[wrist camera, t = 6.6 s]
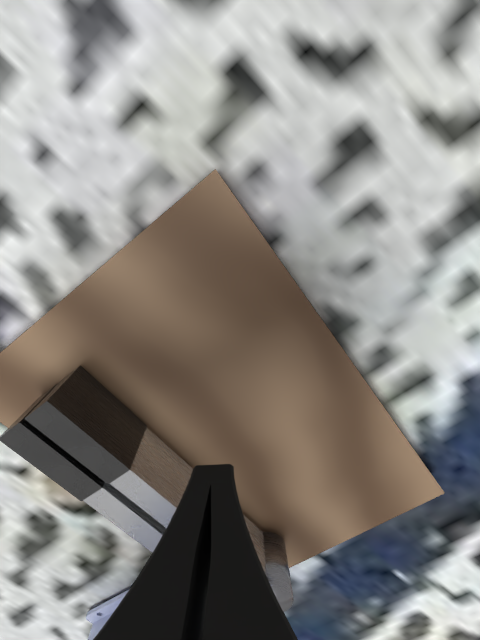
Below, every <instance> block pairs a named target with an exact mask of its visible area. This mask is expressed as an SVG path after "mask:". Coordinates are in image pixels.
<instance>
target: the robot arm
mask: <svg viewBox="0 0 480 640" xmlns="http://www.w3.org/2000/svg"><path fill="white" fill-rule="evenodd" d="M86 619H87V620H88V621H89V622H91V623H93V625H92V628H91V631H90V634H89V637H88V640H298V639H297V637H296V635H295V633H294V632H293V630H292V628H291V626H290V624H289V622H288V620H287V618H286V616H285V614H284V612H283V610H282V608H281V606H280V604H279V602H278V600H277V598H276V596H275V594H274V592H273V590H272V587H271V585H270V583H269V581H268V579H267V576H266V574H265V572H264V570H263V567H262V565H261V562H260V560H259V558H258V555H257V553H256V550H255V547H254V545H253V542H252V539H251V537H250V534H249V531H248V528H247V525H246V522H245V519H244V516H243V512H242V509H241V506H240V502H239V498H238V494H237V490H236V485H235V479H234V466H232V465H231V464H217V465H196V466H195V467H194V468H193V471H192V474H191V477H190V479H189V482H188V484H187V487H186V489H185V492H184V494H183V496H182V498H181V500H180V503H179V505H178V507H177V509H176V511H175V513H174V515H173V517H172V519H171V521H170V523H169V525H168V526H167V528H166V530H165V532H164V534H163V535H162V537H161V539H160V541H159V543H158V544H157V546H156V548H155V550H154V551H153V553H152V555H151V556H150V558H149V560H148V561H147V563H146V565H145V566H144V568H143V569H142V571H141V573H140V574H139V576H138V577H137V579H136V580H135V582H134V583H133V585H132V586H131V588H130V589H129V590H127V591H125V592H123V593H122V594H120V595H118V596H116V597H114V598H112V599H110V600H108V601H107V602H105V603H103V604H101V605H99V606H97V607H95V608H93V609H92V610H90V611H88V613H87V615H86Z"/></svg>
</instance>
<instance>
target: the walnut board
mask: <svg viewBox="0 0 480 640" xmlns="http://www.w3.org/2000/svg"><path fill="white" fill-rule="evenodd" d="M80 365H81V366H82V367H83V368H84V369H85V370H86V371H88V372H89V373H90V374H91V375H92V376H93V377H94V378H95V379H96V380H97V381H99V382H100V383H101V384H102V385H103V386H104V387H105V388H106V389H107V390H108V391H110V392H111V393H112V394H113V395H114V396H115V397H116V398H117V399H118V400H119V401H121V402H122V403H123V404H124V405H125V406H126V407H127V408H128V409H129V410H131V411H132V412H133V413H134V414H135V415H136V416H137V417H138V418H139V419H140V420H142V421H143V422H144V423H145V424H146V425H147V428H148V429H149V430H151V431H152V432H153V433H154V434H155V435H156V436H157V437H158V438H159V439H161V440H162V441H163V442H164V443H165V444H166V445H167V446H168V447H169V448H170V449H172V450H173V451H174V452H175V453H176V454H177V455H178V456H179V457H180V458H182V459H183V460H184V461H185V462H186V463H187V464H188V465H189V466H190V467H192V468H194V467H195V466H196V465H217V464H231V465H232V466H234V479H235V485H236V490H237V494H238V498H239V502H240V506H241V509H242V512H243V515H245V516H246V517H247V518H248V519H249V520H250V521H251V522H252V523H253V524H255V525H256V526H257V527H258V528H259V529H260V530H261V531H262V532H271V533H275V534H278V535H279V536H281V537H282V538H283V539H284V541H285V545H286V552H287V559H288V566H289V568H290V567H292V566H294V565H296V564H298V563H300V562H303V561H305V560H307V559H309V558H311V557H313V556H315V555H317V554H319V553H321V552H323V551H325V550H327V549H330V548H332V547H334V546H336V545H338V544H340V543H342V542H344V541H346V540H348V539H350V538H352V537H355V536H357V535H359V534H361V533H363V532H365V531H367V530H369V529H371V528H373V527H375V526H377V525H379V524H382V523H384V522H386V521H388V520H390V519H392V518H394V517H396V516H398V515H400V514H402V513H404V512H407V511H409V510H411V509H413V508H415V507H417V506H419V505H421V504H423V503H425V502H427V501H429V500H431V499H434V498H436V497H438V496H440V495H442V494H444V491H443V490H442V489H441V487H440V486H439V484H438V483H437V482H436V480H435V479H434V477H433V476H432V475H431V473H430V472H429V470H428V469H427V467H426V466H425V465H424V463H423V462H422V460H421V459H420V458H419V456H418V455H417V453H416V452H415V450H414V449H413V448H412V446H411V445H410V443H409V442H408V441H407V439H406V438H405V436H404V435H403V433H402V432H401V431H400V429H399V428H398V426H397V425H396V424H395V422H394V421H393V419H392V418H391V417H390V415H389V414H388V412H387V411H386V409H385V408H384V407H383V405H382V404H381V402H380V401H379V400H378V398H377V397H376V395H375V394H374V392H373V391H372V390H371V388H370V387H369V385H368V384H367V383H366V381H365V380H364V378H363V377H362V376H361V374H360V373H359V371H358V370H357V368H356V367H355V366H354V364H353V363H352V361H351V360H350V359H349V357H348V356H347V354H346V353H345V351H344V350H343V349H342V347H341V346H340V344H339V343H338V342H337V340H336V339H335V337H334V336H333V335H332V333H331V332H330V330H329V329H328V327H327V326H326V325H325V323H324V322H323V320H322V319H321V318H320V316H319V315H318V313H317V312H316V310H315V309H314V308H313V306H312V305H311V303H310V302H309V301H308V299H307V298H306V296H305V295H304V293H303V292H302V291H301V289H300V288H299V286H298V285H297V284H296V282H295V281H294V279H293V278H292V277H291V275H290V274H289V272H288V271H287V269H286V268H285V267H284V265H283V264H282V262H281V261H280V260H279V258H278V257H277V255H276V254H275V252H274V251H273V250H272V248H271V247H270V245H269V244H268V243H267V241H266V240H265V238H264V237H263V236H262V234H261V233H260V231H259V230H258V228H257V227H256V226H255V224H254V223H253V221H252V220H251V219H250V217H249V216H248V214H247V213H246V211H245V210H244V209H243V207H242V206H241V204H240V203H239V202H238V200H237V199H236V197H235V196H234V195H233V193H232V192H231V190H230V189H229V187H228V186H227V185H226V183H225V182H224V180H223V179H222V178H221V176H220V175H219V173H218V172H217V170H216V169H215V170H214V171H213V172H212V173H210V174H209V175H208V176H207V177H206V178H205V179H203V180H202V181H201V182H200V183H199V184H198V185H196V186H195V187H194V188H193V189H192V190H190V191H189V192H188V193H187V194H186V195H185V196H183V197H182V198H181V199H180V200H179V201H178V202H176V203H175V204H174V205H173V206H172V207H171V208H169V209H168V210H167V211H166V212H165V213H164V214H162V215H161V216H160V217H159V218H158V219H157V220H155V221H154V222H153V223H152V224H151V225H150V226H148V227H147V228H146V229H145V230H144V231H142V232H141V233H140V234H139V235H138V236H137V237H135V238H134V239H133V240H132V241H131V242H130V243H128V244H127V245H126V246H125V247H124V248H123V249H121V250H120V251H119V252H118V253H117V254H116V255H114V256H113V257H112V258H111V259H110V260H109V261H107V262H106V263H105V264H104V265H103V266H102V267H100V268H99V269H98V270H97V271H96V272H94V273H93V274H92V275H91V276H90V277H89V278H87V279H86V280H85V281H84V282H83V283H82V284H80V285H79V286H78V287H77V288H76V289H75V290H73V291H72V292H71V293H70V294H69V295H68V296H66V297H65V298H64V299H63V300H62V301H61V302H59V303H58V304H57V305H56V306H55V307H53V308H52V309H51V310H50V311H49V312H48V313H46V314H45V315H44V316H43V317H42V318H41V319H39V320H38V321H37V322H36V323H35V324H34V325H32V326H31V327H30V328H29V329H28V330H27V331H25V332H24V333H23V334H22V335H21V336H20V337H18V338H17V339H16V340H15V341H14V342H13V343H11V344H10V345H9V346H8V347H7V348H5V349H4V350H3V351H2V352H1V353H0V422H1V423H2V424H4V425H5V426H6V427H8V428H9V427H10V426H11V425H12V424H13V423H14V422H15V421H16V420H17V419H18V418H19V417H20V416H21V415H22V414H23V413H24V412H25V411H26V410H27V409H28V408H29V407H30V406H31V405H32V404H33V403H34V402H35V401H36V400H37V399H38V398H39V397H40V396H41V395H43V394H44V393H45V392H47V391H48V390H49V389H50V388H52V387H53V386H54V385H56V384H58V383H59V382H60V381H61V380H62V379H64V378H65V377H66V376H67V375H69V374H70V373H71V372H72V371H74V370H75V369H76V368H77V367H79V366H80Z"/></svg>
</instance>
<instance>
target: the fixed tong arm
mask: <svg viewBox="0 0 480 640" xmlns="http://www.w3.org/2000/svg"><path fill="white" fill-rule="evenodd" d="M56 385H57V384H56ZM56 385H54V386H53V387H52V388H50V389H49V390H48V391H47V392H45V393H44V394H43V395H41V396H40V397H39V398H38V399H37V400H36V401H35V402H34V403H33V404H32V405H31V406H30V407H29V408H28V409H27V410H26V411H25V412H24V413H23V414H22V415H21V416H20V417H19V418H18V419H17V420H16V421H15V422H14V423H13V424H12V425H11V426H10V427H9V428H8V429H7V430H6V431H5V432H4V433H3V434H2V435H1V436H0V441H1V442H3V443H4V444H5V445H7V446H8V447H9V448H11V449H12V450H13V451H15V452H16V453H17V454H19V455H20V456H21V457H23V458H24V459H25V460H27V461H28V462H29V463H31V464H32V465H33V466H35V467H36V468H37V469H39V470H40V471H41V472H43V473H44V474H45V475H47V476H48V477H49V478H51V479H52V480H53V481H55V482H56V483H57V484H59V485H60V486H61V487H63V488H64V489H65V490H67V491H68V492H69V493H71V494H72V495H73V496H75V497H76V498H77V499H79V500H80V501H84V502H86V503H87V504H88V505H90V506H91V507H92V508H94V509H95V510H96V511H98V512H99V513H100V514H102V515H103V516H104V517H106V518H107V519H108V520H110V521H111V522H112V523H114V524H115V525H116V526H118V527H119V528H120V529H122V530H123V531H124V532H126V533H127V534H128V535H130V536H131V537H132V538H134V539H135V540H136V541H138V542H139V543H140V544H142V545H143V546H144V547H146V548H147V549H148V550H149V551H151V552H152V553H153V551H154V550H155V548H156V546H157V544H158V543H159V541H160V539H161V537H162V535H163V534H164V532H165V530H166V527H164V526H163V525H162V524H161V523H159V522H158V521H157V520H155V519H154V518H153V517H152V516H150V515H149V514H148V513H147V512H145V511H144V510H143V509H141V508H140V507H139V506H138V505H136V504H135V503H134V502H133V501H131V500H130V499H129V498H127V497H126V496H125V495H124V494H122V493H121V492H120V491H119V490H117V489H116V488H115V487H114V486H112V485H111V484H110V483H109V484H107V483H106V482H104V481H103V480H102V479H100V478H99V477H98V476H97V475H95V474H94V473H93V472H92V471H90V470H89V469H88V468H86V467H85V466H84V465H83V464H81V463H80V462H79V461H78V460H76V459H75V458H74V457H72V456H71V455H70V454H69V453H67V452H66V451H65V450H64V449H62V448H61V447H60V446H58V445H57V444H56V443H55V442H53V441H52V440H51V439H49V438H48V437H47V436H46V435H44V434H43V433H42V432H41V431H39V430H38V429H37V428H35V427H34V426H33V425H32V424H30V423H29V422H28V421H27V420H25V417H26V416H27V415H28V414H29V413H30V412H31V411H32V410H33V409H34V408H35V407H36V406H37V405H38V404H39V403H40V402H41V401H42V400H43V399H44V398H45V397H46V396H47V395H48V394H49V393H50V392H51V390H52V389H53V388H54V387H55V386H56Z"/></svg>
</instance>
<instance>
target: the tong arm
mask: <svg viewBox="0 0 480 640" xmlns="http://www.w3.org/2000/svg"><path fill="white" fill-rule="evenodd" d="M25 420H27V421H28V422H29V423H30V424H32V425H33V426H34V427H35V428H37V429H38V430H39V431H41V432H42V433H43V434H44V435H46V436H47V437H48V438H49V439H51V440H52V441H53V442H55V443H56V444H57V445H58V446H60V447H61V448H62V449H64V450H65V451H66V452H67V453H69V454H70V455H71V456H72V457H74V458H75V459H76V460H78V461H79V462H80V463H81V464H83V465H84V466H85V467H86V468H88V469H89V470H90V471H92V472H93V473H94V474H95V475H97V476H98V477H99V478H100V479H102V480H103V481H104V482H106V483H107V484H109V483H110V484H111V485H112V486H114V487H115V488H116V489H117V490H119V491H120V492H121V493H122V494H124V495H125V496H126V497H127V498H129V499H130V500H131V501H133V502H134V503H135V504H136V505H138V506H139V507H140V508H141V509H143V510H144V511H145V512H147V513H148V514H149V515H150V516H152V517H153V518H154V519H155V520H157V521H158V522H159V523H161V524H162V525H163V526H164V527H166V528H167V526H168V525H169V523H170V521H171V519H172V517H173V515H174V513H175V511H176V509H177V507H178V505H179V503H180V500H181V498H182V496H183V494H184V492H185V489H186V487H187V484H188V482H189V479H190V477H191V474H192V471H193V468H192V467H190V466H189V465H188V464H187V463H186V462H185V461H184V460H183V459H182V458H180V457H179V456H178V455H177V454H176V453H175V452H174V451H173V450H172V449H170V448H169V447H168V446H167V445H166V444H165V443H164V442H163V441H162V440H161V439H159V438H158V437H157V436H156V435H155V434H154V433H153V432H152V431H151V430H149V429H148V428H147V425H146V424H145V423H144V422H143V421H142V420H140V419H139V418H138V417H137V416H136V415H135V414H134V413H133V412H132V411H131V410H129V409H128V408H127V407H126V406H125V405H124V404H123V403H122V402H121V401H119V400H118V399H117V398H116V397H115V396H114V395H113V394H112V393H111V392H110V391H108V390H107V389H106V388H105V387H104V386H103V385H102V384H101V383H100V382H99V381H97V380H96V379H95V378H94V377H93V376H92V375H91V374H90V373H89V372H88V371H86V370H85V369H84V368H83V367H82V366H81V365H80V366H79V367H77V368H76V369H75V370H74V371H72V372H71V373H70V374H69V375H67V376H66V377H65V378H64V379H62V380H61V381H60V382H59V383H58V384H57V385H56V386H55V387H54V388H53V389H52V390H51V392H50V393H49V394H48V395H47V396H46V397H45V398H44V399H43V400H42V401H41V402H40V403H39V404H38V405H37V406H36V407H35V408H34V409H33V410H32V411H31V412H30V413H29V414H28V415H27V416H26V417H25ZM243 516H244V519H245V522H246V525H247V528H248V531H249V534H250V537H251V539H252V542H253V545H254V547H255V550H256V553H257V555H258V558H259V560H260V562H261V565H262V567H263V570H264V572H265V574H266V576H267V579H268V581H269V583H270V585H271V587H272V590H273V592H274V594H275V596H276V598H277V600H278V602H279V604H280V606H281V608H282V610H283V612H285V611H287V610H288V609H289V608H290V607H291V606H292V604H293V593H292V586H291V580H290V573H289V566H288V559H287V552H286V545H285V541H284V539H283V538H282V537H281V536H279V535H278V534H275V533H271V532H262V531H261V530H260V529H259V528H258V527H257V526H256V525H255V524H253V523H252V522H251V521H250V520H249V519H248V518H247V517H246V516H245V515H243Z"/></svg>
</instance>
